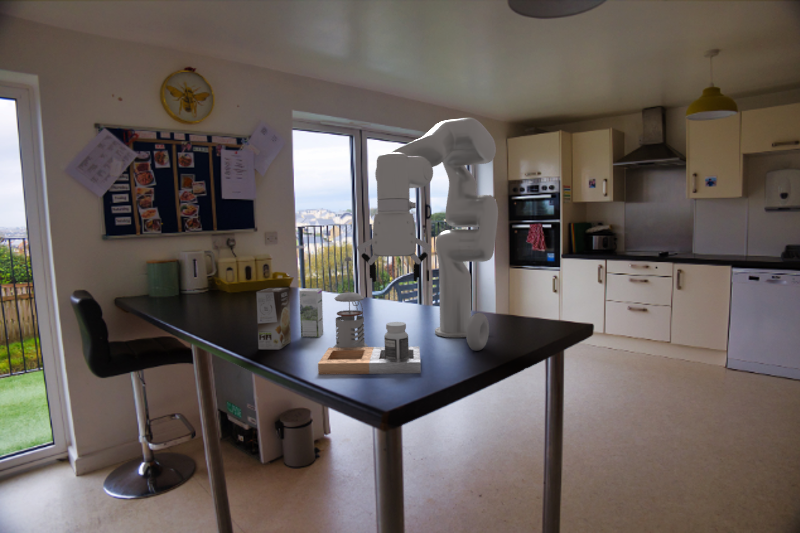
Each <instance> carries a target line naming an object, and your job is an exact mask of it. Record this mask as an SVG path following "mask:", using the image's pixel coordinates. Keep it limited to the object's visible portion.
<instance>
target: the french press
mask: <svg viewBox="0 0 800 533" xmlns="http://www.w3.org/2000/svg"><path fill="white" fill-rule="evenodd" d="M344 262H347V276H348V278H347V281H348V282H347V283H348V288H350V271H349V270H350V268H349V266H350V265H349V262H352V257H351V256H346V257H345V258H344ZM364 299H365V297H364V296H363V295H361V294H360V293H357V292H354V291H352V292H351V291H350V290H347V292H343V293H340V294H338V295H337V296H335V297H334V300H335V301H336V302H340V303H341V302H342V303H348V306H349V307H348V309H346V310H344V309H343V310H339V311H337V312H336V315H337V317H335V336H336V337H335V340H336V342H335V343H336V344H335V345H334V346H332V348H345V347H369V345H368V344H367V343H366V342H365V337H364V336H365V328H364V327H365V324H364V322H365V318H364V309H363V304H362V301H363V300H364ZM350 302H351V303H352V306H354V307H355V308H356V310H355V309H351V304H350ZM359 304H360V306H361V310H359V309H358V306H359ZM355 318H356V319H355Z"/></svg>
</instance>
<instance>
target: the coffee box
mask: <svg viewBox="0 0 800 533" xmlns="http://www.w3.org/2000/svg"><path fill="white" fill-rule="evenodd" d="M255 294H256V311H257V312H256V313H257V316H256V317H257V318H256V320H257V342H258V344H257V345H258V350H281V349H283V348H284V347H285V346H287V345H289V344H290V343H291V342H292V336H291V335H292V334H291V332H292V331H291V306H290V305H291V304H290V302H291V300H290V287H268V288H265V289H261V290H257V291H256V292H255Z"/></svg>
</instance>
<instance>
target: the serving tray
mask: <svg viewBox="0 0 800 533" xmlns="http://www.w3.org/2000/svg"><path fill="white" fill-rule="evenodd" d="M420 352H421V351H420V346H409V359H385V346H368V347H345V348H333V347H328V348H327V350H326V351H325V353H324V354H323V356H322V357H321V358H320V360H319V362H318V363H317V369H318V370H317V373H318V375H370V374H371V375H372V374H373V375H375V374H376V375H377V374H379V375H380V374H383V375H384V374H390V375H391V374H393V375H394V374H421V371H422V370H421V368H422V366H421V353H420Z"/></svg>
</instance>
